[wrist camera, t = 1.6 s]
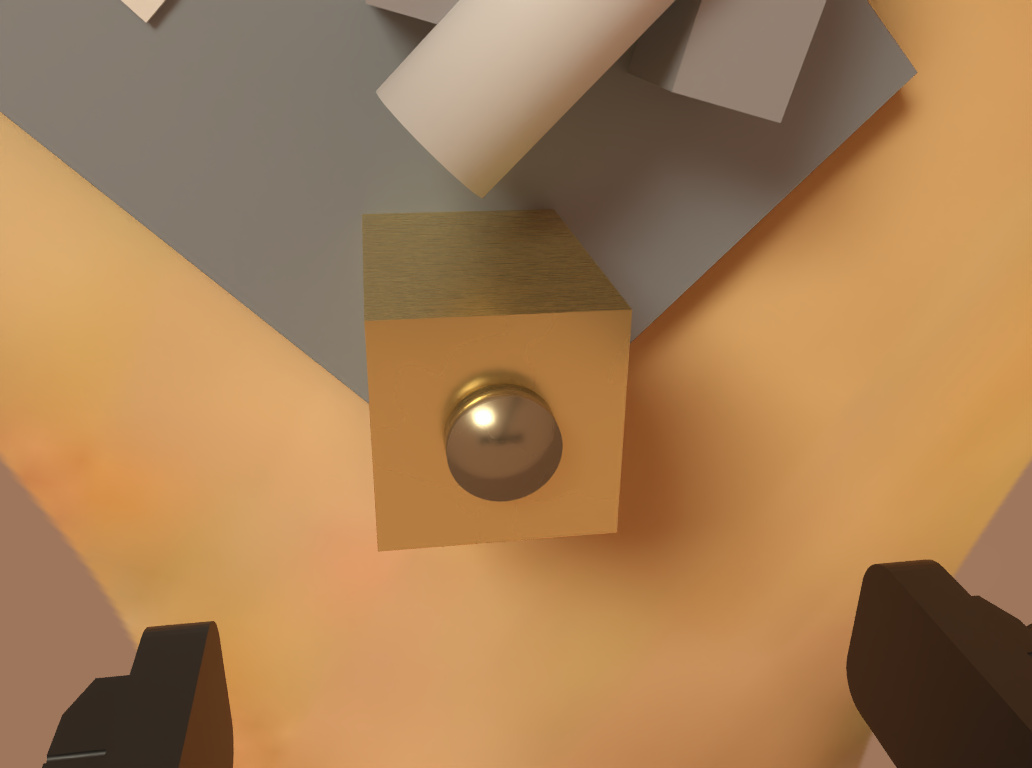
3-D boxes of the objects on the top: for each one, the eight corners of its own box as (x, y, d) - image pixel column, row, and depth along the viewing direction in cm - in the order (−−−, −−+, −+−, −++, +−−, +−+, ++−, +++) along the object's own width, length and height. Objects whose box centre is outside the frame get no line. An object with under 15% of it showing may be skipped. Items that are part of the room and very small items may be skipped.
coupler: (362, 213, 21) (364, 334, 15) (553, 208, 22) (641, 322, 15) (372, 390, 23) (378, 571, 16) (548, 381, 24) (625, 551, 17)
